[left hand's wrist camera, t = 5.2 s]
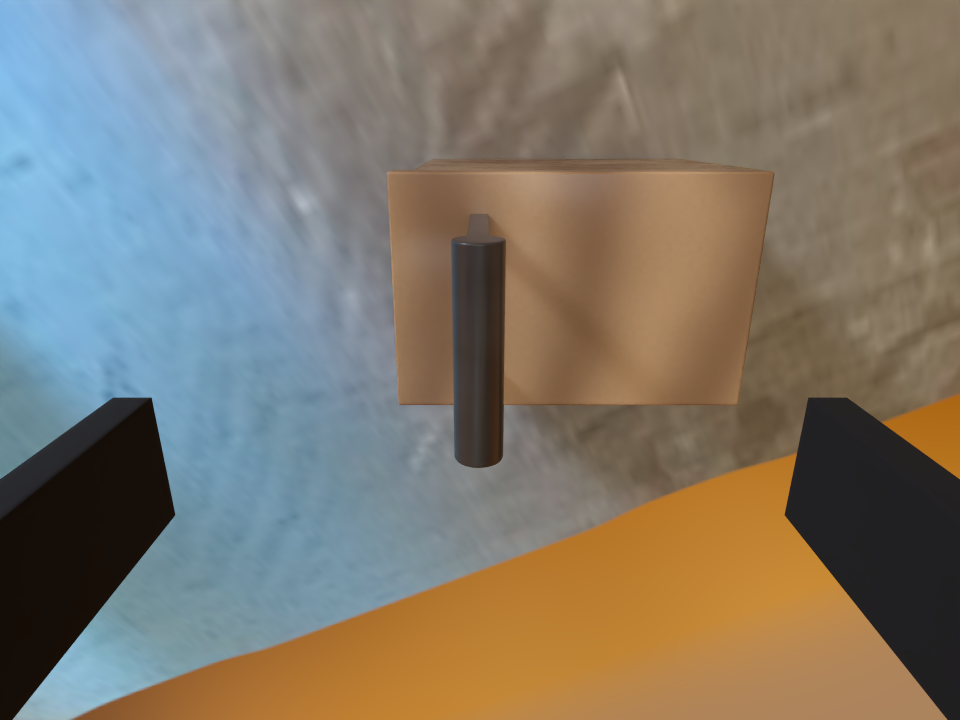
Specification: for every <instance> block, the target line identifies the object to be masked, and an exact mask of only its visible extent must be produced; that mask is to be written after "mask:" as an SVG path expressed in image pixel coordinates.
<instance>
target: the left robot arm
mask: <svg viewBox="0 0 960 720" xmlns="http://www.w3.org/2000/svg"><path fill="white" fill-rule="evenodd" d="M174 516H175V511H174V506H173V501H172V496H171V491H170V486H169V481H168V477H167V472H166V467H165V462H164V457H163V452H162V447H161V442H160V437H159V432H158V427H157V422H156V417H155V413H154V408H153V403H152V398H112V399H111V400H109V401H108V402H107V403H105V404H104V405H102V406H101V407H100V408H98V409H97V410H96V411H94V412H93V413H91V414H90V415H89V416H87V417H86V418H84V419H83V420H82V421H80V422H79V423H78V424H76V425H75V426H73V427H72V428H71V429H69V430H68V431H67V432H65V433H64V434H62V435H61V436H60V437H58V438H57V439H55V440H54V441H53V442H51V443H50V444H49V445H47V446H46V447H44V448H43V449H42V450H40V451H39V452H38V453H36V454H35V455H33V456H32V457H31V458H29V459H28V460H26V461H25V462H24V463H22V464H21V465H20V466H18V467H17V468H15V469H14V470H13V471H11V472H10V473H9V474H7V475H6V476H4V477H3V478H2V479H0V720H13V718H14V717H15V716H16V715H17V713H18V712H19V711H20V710H21V708H22V707H23V706H24V704H25V703H26V702H27V701H28V699H29V698H30V697H31V696H32V694H33V693H34V692H35V691H36V689H37V688H38V687H39V686H40V684H41V683H42V682H43V681H44V679H45V678H46V677H47V676H48V674H49V673H50V672H51V671H52V669H53V668H54V667H55V666H56V664H57V663H58V662H59V661H60V659H61V658H62V657H63V656H64V654H65V653H66V652H67V650H68V649H69V648H70V647H71V645H72V644H73V643H74V642H75V640H76V639H77V638H78V637H79V635H80V634H81V633H82V632H83V630H84V629H85V628H86V627H87V625H88V624H89V623H90V622H91V620H92V619H93V618H94V617H95V615H96V614H97V613H98V612H99V610H100V609H101V608H102V607H103V605H104V604H105V603H106V601H107V600H108V599H109V598H110V596H111V595H112V594H113V593H114V591H115V590H116V589H117V588H118V586H119V585H120V584H121V583H122V581H123V580H124V579H125V578H126V576H127V575H128V574H129V573H130V571H131V570H132V569H133V568H134V566H135V565H136V564H137V563H138V561H139V560H140V559H141V558H142V556H143V555H144V554H145V552H146V551H147V550H148V549H149V547H150V546H151V545H152V544H153V542H154V541H155V540H156V539H157V537H158V536H159V535H160V534H161V532H162V531H163V530H164V529H165V527H166V526H167V525H168V524H169V522H170V521H171V520H172V519H173V517H174ZM785 516H786V517H787V519H788V520H789V521H790V522H791V524H792V525H793V526H794V527H795V529H796V530H797V531H798V532H799V534H800V535H801V536H802V537H803V539H804V540H805V541H806V542H807V544H808V545H809V546H810V547H811V549H812V550H813V551H814V552H815V554H816V555H817V556H818V557H819V559H820V560H821V561H822V562H823V564H824V565H825V566H826V568H827V569H828V570H829V571H830V573H831V574H832V575H833V576H834V578H835V579H836V580H837V581H838V583H839V584H840V585H841V586H842V588H843V589H844V590H845V591H846V593H847V594H848V595H849V596H850V598H851V599H852V600H853V601H854V603H855V604H856V605H857V607H858V608H859V609H860V610H861V612H862V613H863V614H864V615H865V617H866V618H867V619H868V620H869V622H870V623H871V624H872V625H873V627H874V628H875V629H876V630H877V632H878V633H879V634H880V635H881V637H882V638H883V639H884V640H885V642H886V643H887V644H888V645H889V647H890V648H891V649H892V650H893V652H894V653H895V654H896V656H897V657H898V658H899V659H900V661H901V662H902V663H903V664H904V666H905V667H906V668H907V669H908V671H909V672H910V673H911V674H912V676H913V677H914V678H915V679H916V681H917V682H918V683H919V684H920V686H921V687H922V688H923V689H924V691H925V692H926V693H927V694H928V696H929V697H930V698H931V699H932V701H933V702H934V703H935V704H936V706H937V707H938V708H939V709H940V711H941V712H942V713H943V715H944V716H945V717H946V718H947V720H960V479H958V478H957V477H956V476H954V475H953V474H951V473H950V472H949V471H947V470H946V469H945V468H943V467H942V466H940V465H939V464H938V463H936V462H935V461H933V460H932V459H931V458H929V457H928V456H927V455H925V454H924V453H922V452H921V451H920V450H918V449H917V448H916V447H914V446H913V445H911V444H910V443H909V442H907V441H906V440H905V439H903V438H902V437H900V436H899V435H898V434H896V433H895V432H893V431H892V430H891V429H889V428H888V427H887V426H885V425H884V424H882V423H881V422H880V421H878V420H877V419H876V418H874V417H873V416H871V415H870V414H869V413H867V412H866V411H864V410H863V409H862V408H860V407H859V406H858V405H856V404H855V403H853V402H852V401H851V400H849V399H848V398H808V403H807V408H806V413H805V417H804V422H803V427H802V432H801V437H800V442H799V447H798V452H797V457H796V462H795V467H794V472H793V477H792V481H791V487H790V491H789V496H788V501H787V506H786V511H785Z"/></svg>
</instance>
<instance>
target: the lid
mask: <svg viewBox="0 0 960 720" xmlns="http://www.w3.org/2000/svg"><path fill="white" fill-rule="evenodd" d="M773 180H774V172H772V171H764V170H392V171H390V172H387V186H388V206H389V226H390V246H391V265H392V285H393V305H394V324H395V344H396V364H397V383H398V403H399V404H400V405H454V448H455V458H456V460H457V461H458V462H459V463H461V464H462V465H465V466H468V467H474V468H484V467H489V466H493V465H495V464H497V463H498V462H500V461H501V459H502V457H503V417H504V405H737V404H738V399H739V393H740V387H741V380H742V374H743V368H744V361H745V355H746V349H747V343H748V336H749V330H750V324H751V318H752V311H753V305H754V299H755V293H756V286H757V280H758V274H759V268H760V261H761V255H762V249H763V242H764V236H765V230H766V224H767V217H768V211H769V205H770V199H771V192H772V186H773Z"/></svg>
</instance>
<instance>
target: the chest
mask: <svg viewBox="0 0 960 720" xmlns="http://www.w3.org/2000/svg"><path fill="white" fill-rule="evenodd" d="M415 170H757V169H750V168H742V167H735V166H727V165H720V164H713V163H705V162H698V161H690V160H683V159H433V160H431V161H429V162H427V163H426V164H424V165H422V166H420V167H419V168H417V169H415Z"/></svg>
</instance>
